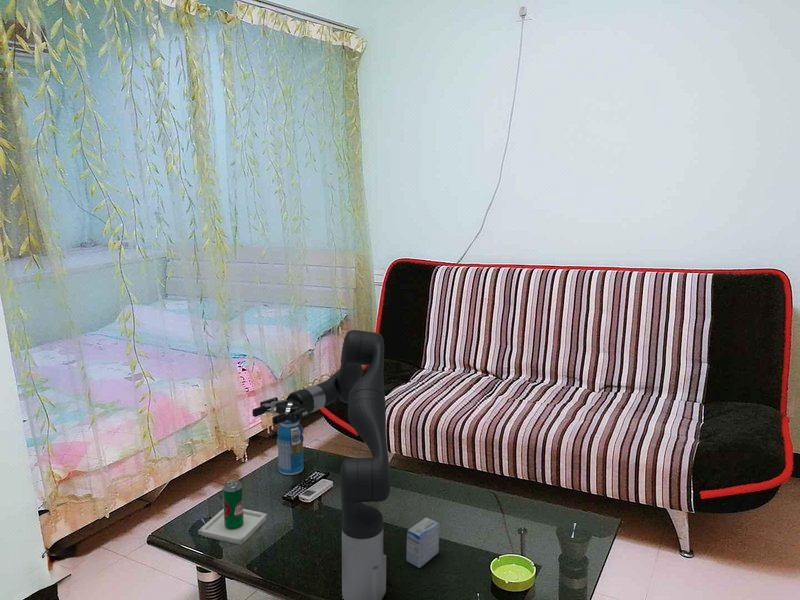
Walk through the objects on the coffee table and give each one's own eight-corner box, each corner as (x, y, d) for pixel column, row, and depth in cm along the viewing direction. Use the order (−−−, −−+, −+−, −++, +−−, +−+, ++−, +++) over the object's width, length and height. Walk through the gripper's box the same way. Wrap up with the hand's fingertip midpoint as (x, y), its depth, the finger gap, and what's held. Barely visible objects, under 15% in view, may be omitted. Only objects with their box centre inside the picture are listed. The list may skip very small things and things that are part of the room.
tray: (267, 518, 166) (267, 513, 166) (241, 545, 154) (241, 540, 154) (227, 510, 170) (226, 505, 170) (198, 535, 158) (198, 530, 158)
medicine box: (425, 546, 154) (425, 516, 153) (439, 553, 152) (440, 522, 150) (405, 561, 148) (406, 530, 147) (420, 569, 146) (420, 536, 144)
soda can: (238, 531, 159) (236, 489, 157) (221, 528, 160) (218, 487, 158) (247, 520, 164) (245, 480, 162) (229, 518, 165) (227, 478, 162)
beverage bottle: (275, 475, 190) (273, 416, 186) (281, 463, 198) (279, 406, 194) (301, 476, 190) (300, 417, 186) (306, 463, 198) (305, 406, 194)
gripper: (290, 383, 181) (246, 398, 168) (323, 394, 172) (279, 410, 160) (290, 406, 182) (247, 423, 170) (323, 418, 174) (280, 437, 161)
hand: (263, 417), depth 165 cm, fingers open, 8 cm apart
